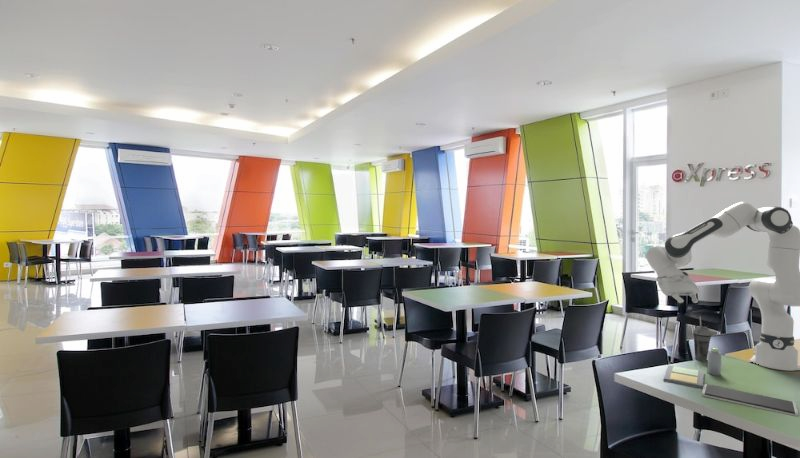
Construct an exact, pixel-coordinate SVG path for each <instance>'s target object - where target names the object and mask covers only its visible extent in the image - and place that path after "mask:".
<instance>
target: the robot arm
mask: <svg viewBox="0 0 800 458" xmlns="http://www.w3.org/2000/svg"><path fill="white" fill-rule="evenodd" d="M745 227H746V228H748V229H749V230H752V231H754V232H757V233H758V232H761V233H762V232H764V233H767V234H768V237H769V243H768V248H767V249H768V250H767V257H766V258H767V259H766V264H767V266H768V267H769V268H770V269H771V270H772V271H773V272H774V275H775V276H774V277H775V278H771V277H760V278H759V277H757V278H753V279H752V280H751V281H750V283H749V285H748V292H749V295H750V296H751V297H752V298H753V299H754V300H755V302H756V304H757V306H758V308H759V310H760V315H761V332H760V334H759V342H757V343H756V344H755V345H754V346H753V352H754V353H753V355H752V357H750V359H749V361H750V362H749V361H748V362H749V363H751V362H753V363H752V364H755V363H756V365H758V364H759V365H758V366H760V367H764V368H769V369H773V370H779V371H791V372H792V371H800V365H799V350H798V349H796V347H795V346H794V345H795V337H794V325H795V324H794V323H795V322H794V318H793V317H792V316H791V315H790V314H789V313H788V312H787V311H786V309H785V307H784V306H788V307H800V228H799V227H797V225H794V223H793V220H792V216H791V213H790V211H788V209H786V208H784V207H781V206H765V207H760V208H759V207H758V208H755V206H754V205H752V204H750V203H749V202H746V201H739V202H737V203H736V202H735V203H734V204H732V205H730V206H728V207H726V208H725V209H723V210H722V211H720V212H718V213H717V214H715V215H714V216H712V217H710V218H708V219H706V220H704V221H702V222H700V223H698V224H697V225H695V226H693V227H692V228H690V229H687V230H686V231H683V232H681V233H677V234H673V235H671V236H670V237H668V238H667V239H666V241H665V243H664V246H661V245H653V246H652V247H650V248H649V249H648V250H647V251H646V253H645V257H646V260H647V262H648V264H649V266H650V267H651V269H652V270H653V271H655V273H656V275H657V277H656V281H657V285H658V287H659V288H660V291H661V292H662V293H663V294H664V296H671V297H672V298H673V299H675V300H676V301H677V303H679V304H684V302H685V300H684V298H683V297H681V296H689V297H690V298H691V301H692V303H693V304H696V303H698V302H699V299H698V298H697V294H698V293H699V292H700V289H699V287H698V286H697V284H696V282H694V280H693V279H692V278H691V277H690V276H691V275H690V274H689V273H688V272H686V271H684V270H681V269H680V267H683V266H687V265H688V264H690V262H691V261H692V248H693V247H694V245H695V244H696V243H698V242H700V241H702V240H704V239H705V238H707V237H709V236H711V235H713V236H715V237H718V238H722V239H723V238H728V237H730V236H732V235H734V234H736V233H737V232H739V231H740V230H742V229H743V228H745ZM678 268H679V269H678Z"/></svg>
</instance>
